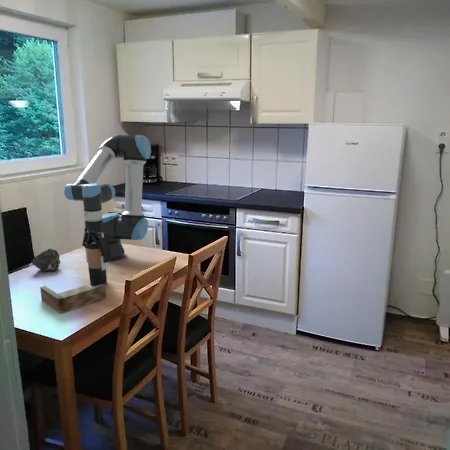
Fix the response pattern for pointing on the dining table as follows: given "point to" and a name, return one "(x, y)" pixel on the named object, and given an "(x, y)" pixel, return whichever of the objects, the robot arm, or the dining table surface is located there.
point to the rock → (47, 260)
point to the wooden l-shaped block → (73, 297)
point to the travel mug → (95, 264)
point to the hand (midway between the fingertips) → (97, 265)
